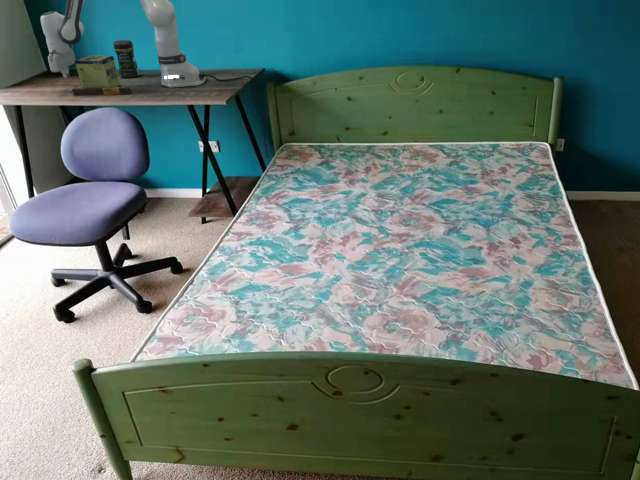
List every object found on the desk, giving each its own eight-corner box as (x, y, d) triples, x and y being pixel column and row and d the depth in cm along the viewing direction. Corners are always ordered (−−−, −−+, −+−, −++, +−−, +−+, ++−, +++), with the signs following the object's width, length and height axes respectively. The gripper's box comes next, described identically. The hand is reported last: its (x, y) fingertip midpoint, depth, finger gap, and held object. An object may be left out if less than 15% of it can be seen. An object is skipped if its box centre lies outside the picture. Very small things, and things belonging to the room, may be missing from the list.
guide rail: (131, 93, 296) (130, 86, 294) (130, 94, 294) (128, 88, 293) (75, 94, 297) (74, 88, 295) (74, 95, 295) (72, 89, 293)
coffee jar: (119, 78, 320) (109, 42, 310) (124, 74, 327) (115, 39, 316) (137, 78, 320) (128, 41, 310) (141, 74, 327) (133, 38, 316)
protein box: (111, 93, 297) (102, 60, 288) (82, 92, 299) (73, 60, 291) (122, 87, 305) (114, 55, 297) (94, 86, 308) (85, 55, 299)
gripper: (54, 52, 282) (63, 82, 290) (73, 43, 299) (81, 71, 307) (41, 52, 282) (50, 82, 290) (61, 43, 299) (69, 71, 307)
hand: (66, 77), depth 298 cm, fingers closed
